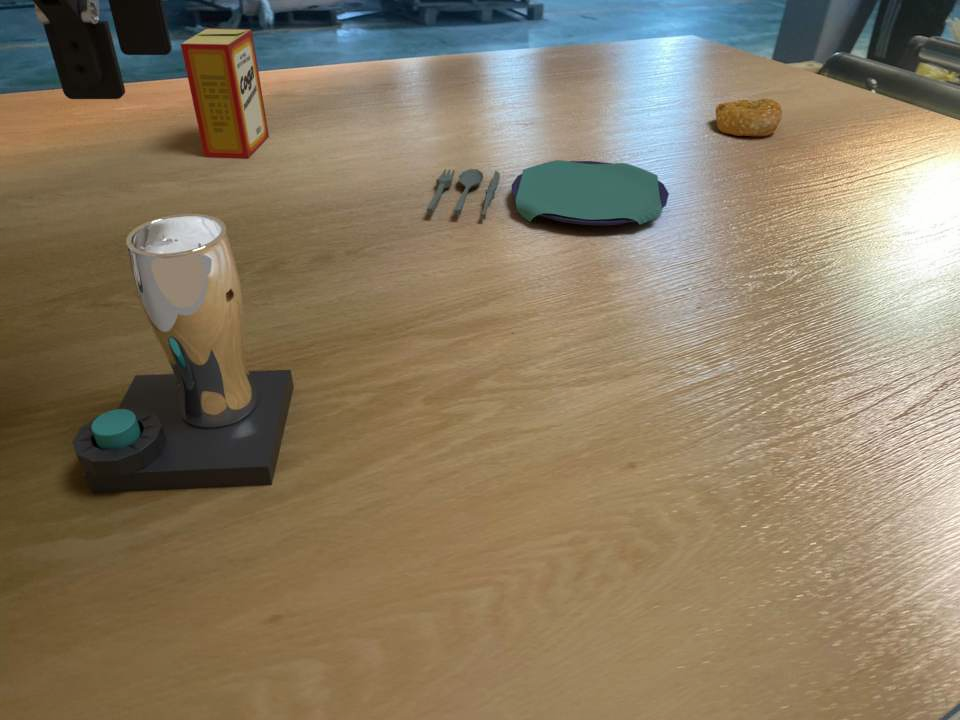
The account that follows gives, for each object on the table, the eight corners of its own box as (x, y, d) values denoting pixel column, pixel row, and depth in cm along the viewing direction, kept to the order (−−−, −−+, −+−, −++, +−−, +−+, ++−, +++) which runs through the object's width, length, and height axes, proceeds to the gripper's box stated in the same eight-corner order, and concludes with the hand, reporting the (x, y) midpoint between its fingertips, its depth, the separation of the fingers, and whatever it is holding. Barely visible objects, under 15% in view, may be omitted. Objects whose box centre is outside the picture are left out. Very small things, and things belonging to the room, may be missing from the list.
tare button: (91, 452, 55) (84, 436, 54) (105, 425, 57) (99, 409, 56) (133, 450, 55) (128, 434, 54) (146, 423, 57) (140, 407, 56)
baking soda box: (248, 158, 111) (227, 42, 101) (204, 156, 111) (179, 41, 102) (269, 136, 118) (251, 26, 109) (228, 135, 119) (207, 25, 110)
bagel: (750, 115, 127) (756, 86, 124) (792, 136, 118) (799, 105, 116) (698, 121, 124) (703, 92, 122) (737, 143, 116) (743, 112, 113)
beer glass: (191, 377, 64) (146, 211, 55) (273, 378, 64) (241, 212, 55) (160, 431, 58) (104, 255, 50) (250, 433, 58) (210, 257, 49)
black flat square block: (75, 498, 55) (60, 462, 53) (129, 393, 65) (118, 359, 63) (271, 489, 56) (263, 454, 54) (294, 386, 66) (288, 353, 64)
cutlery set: (672, 242, 89) (675, 224, 87) (419, 226, 92) (418, 209, 91) (662, 177, 105) (664, 161, 103) (447, 166, 108) (446, 150, 107)
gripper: (29, -274, 44) (108, 40, 54) (-158, -318, 30) (-3, 119, 40) (162, -271, 44) (217, 40, 54) (40, -312, 30) (144, 119, 40)
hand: (124, 73), depth 47 cm, fingers open, 9 cm apart
